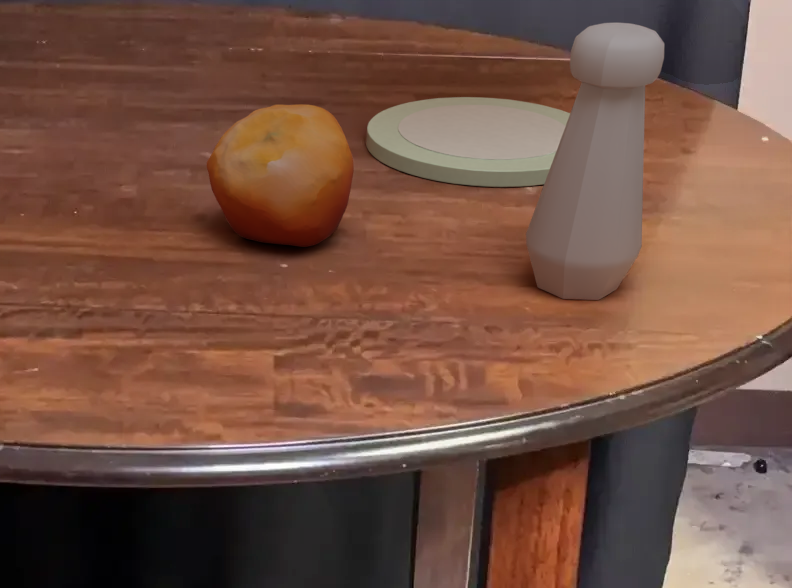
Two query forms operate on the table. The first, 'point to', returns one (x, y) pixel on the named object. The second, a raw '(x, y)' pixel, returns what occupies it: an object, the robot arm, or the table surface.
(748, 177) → the table surface
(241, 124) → the fruit
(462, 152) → the plate
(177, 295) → the table surface
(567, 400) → the table surface
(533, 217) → the salt shaker
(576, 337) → the table surface
